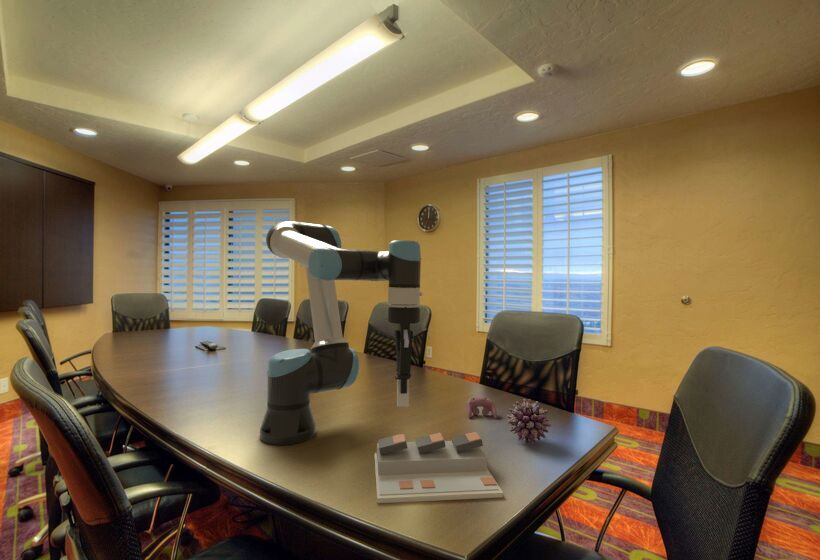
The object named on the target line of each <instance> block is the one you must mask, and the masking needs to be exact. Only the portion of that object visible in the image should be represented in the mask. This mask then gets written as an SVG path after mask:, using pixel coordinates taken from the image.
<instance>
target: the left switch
mask: <svg viewBox="0 0 820 560" xmlns="http://www.w3.org/2000/svg"><path fill="white" fill-rule="evenodd" d="M377 441H378V442H377V443H379V450H380V455H382V454H386V453H391V452H395V451H399V450H403V449H407V443H406V442H407V439H406V435H405V433H400V434H396V435H391V436H387V437H383V438H379V439H378V440H377Z"/></svg>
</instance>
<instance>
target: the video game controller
mask: <svg viewBox="0 0 820 560" xmlns="http://www.w3.org/2000/svg"><path fill="white" fill-rule="evenodd" d="M465 405H466V406H465V408H466V409H465V410H466V414H467V417H468V419H472V415H474V416H478V415H480V413H481V414H482V415H483V416H485V415H486V416H489V414H490V412H491V415H492V417H493V418H494V419H495V418H496V419H497V418H498V413H497V408H496V404H495V402H494V401H493V400H492V399H491V398H487V397H482V396H480V397H474V398H469V399H468V400H467V401H466V403H465ZM479 407H480V408H481V407H482V409H481V412H480V409H479Z"/></svg>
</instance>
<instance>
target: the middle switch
mask: <svg viewBox="0 0 820 560" xmlns="http://www.w3.org/2000/svg"><path fill="white" fill-rule="evenodd" d="M414 440H415V442H416V445H417V448H418V452H419V454H420V453H424V452H428V451H432V450H436V449H440V448H444V447H446V446H445V441H446V440H445V439H444V437H443V434H442V432H437V433H432V434H428V435H424V436H420V437H416V438H415V439H414Z"/></svg>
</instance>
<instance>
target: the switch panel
mask: <svg viewBox="0 0 820 560" xmlns="http://www.w3.org/2000/svg"><path fill="white" fill-rule="evenodd" d="M444 441H445V446H446V447H444V448H440V449H436V450H432V451H428V452H424V453H420V454H419V452H418V448H417V445H416V441H406V443H407V449H403V450H399V451H395V452H391V453H386V454H382V455H380V450H379V442H377V443H376V452H374V471H375V487H376V503H377V504H389V503H393V504H394V503H411V502H413V503H414V502H431V501H433V502H434V501H454V500H456V501H457V500H458V501H459V500H472V499H473V500H474V499H475V500H478V499H495V498H497V499H498V498H503V497H504V492H503V490H502V489H501V487H500V486H499V485H498V482H497V481H496V480H495V478H494V477H493V474H492V473H491V472H490V470H489V468H488V457H487V456H486V454H485V453H484V452H483V450H482V448H481V447H477V448H473V449H469V450H465V451H461V452H457V451H456V450H455V448H454V446H453V444H452V440H444Z"/></svg>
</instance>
